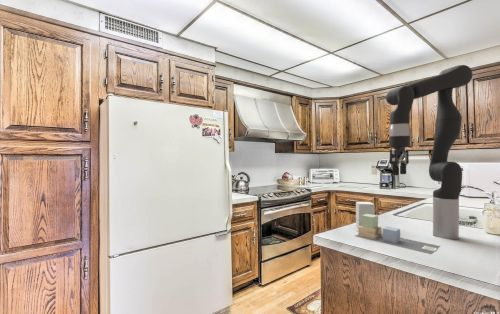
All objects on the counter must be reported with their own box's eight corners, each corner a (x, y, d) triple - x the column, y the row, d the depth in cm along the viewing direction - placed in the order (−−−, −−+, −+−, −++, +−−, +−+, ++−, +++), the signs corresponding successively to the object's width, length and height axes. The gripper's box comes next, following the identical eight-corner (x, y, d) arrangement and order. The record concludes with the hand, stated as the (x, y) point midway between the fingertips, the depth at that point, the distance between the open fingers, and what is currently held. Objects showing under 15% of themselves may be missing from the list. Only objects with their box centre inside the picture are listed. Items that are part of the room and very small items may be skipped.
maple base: (365, 232, 123) (365, 223, 123) (381, 235, 117) (381, 226, 117) (358, 235, 118) (358, 226, 118) (374, 239, 113) (374, 229, 113)
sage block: (366, 224, 121) (366, 213, 121) (378, 226, 117) (378, 215, 117) (361, 226, 118) (361, 215, 118) (373, 228, 114) (373, 217, 114)
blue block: (387, 237, 114) (387, 226, 114) (400, 240, 111) (400, 228, 111) (382, 240, 111) (382, 228, 111) (395, 243, 107) (395, 231, 107)
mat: (366, 231, 126) (366, 230, 126) (440, 247, 104) (440, 246, 104) (354, 236, 117) (354, 235, 117) (431, 255, 96) (431, 254, 96)
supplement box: (374, 230, 127) (375, 204, 126) (358, 230, 128) (358, 203, 128) (371, 226, 134) (371, 201, 134) (355, 226, 135) (355, 201, 135)
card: (424, 246, 104) (424, 245, 104) (436, 249, 101) (436, 248, 101) (421, 248, 101) (421, 247, 101) (433, 251, 98) (433, 250, 98)
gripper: (403, 134, 102) (403, 176, 102) (415, 135, 112) (415, 174, 112) (383, 135, 108) (382, 175, 108) (396, 136, 117) (396, 173, 117)
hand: (399, 174), depth 110 cm, fingers open, 8 cm apart
